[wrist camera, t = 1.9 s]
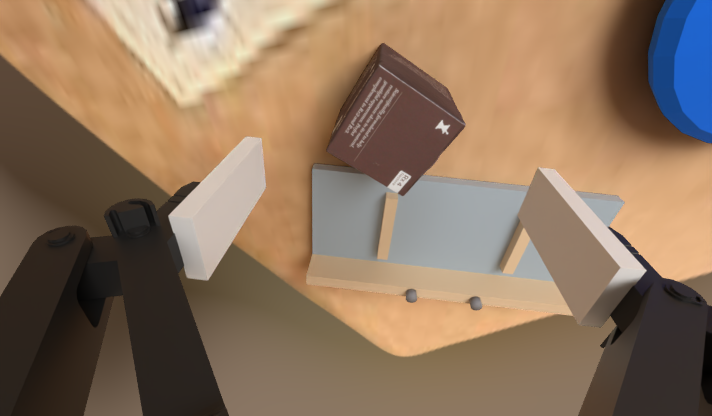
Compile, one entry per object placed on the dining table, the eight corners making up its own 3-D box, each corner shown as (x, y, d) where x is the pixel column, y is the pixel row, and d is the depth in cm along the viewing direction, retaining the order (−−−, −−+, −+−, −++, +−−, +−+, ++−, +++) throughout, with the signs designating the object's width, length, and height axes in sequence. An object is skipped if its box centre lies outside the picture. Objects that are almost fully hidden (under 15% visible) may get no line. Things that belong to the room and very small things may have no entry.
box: (382, 39, 23) (380, 60, 17) (450, 88, 24) (470, 124, 18) (338, 111, 26) (322, 151, 20) (400, 151, 27) (403, 199, 21)
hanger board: (314, 163, 28) (302, 192, 25) (617, 195, 28) (655, 231, 24) (314, 255, 35) (304, 290, 31) (561, 284, 34) (583, 323, 30)
